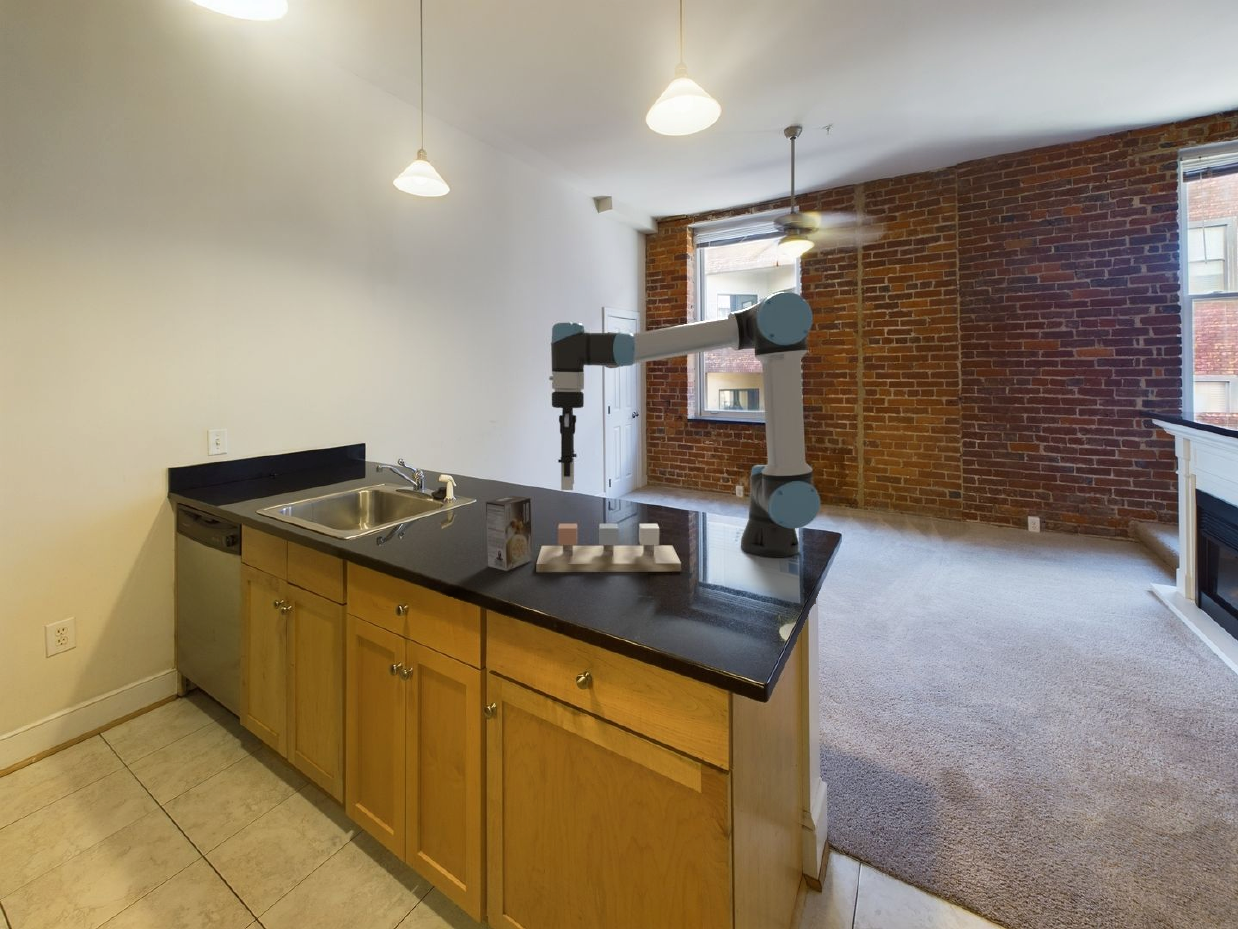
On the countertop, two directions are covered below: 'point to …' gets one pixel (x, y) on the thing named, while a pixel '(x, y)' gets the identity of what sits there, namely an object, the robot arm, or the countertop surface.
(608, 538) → the cap middle
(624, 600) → the countertop surface
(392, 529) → the countertop surface
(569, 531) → the cap
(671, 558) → the mount board
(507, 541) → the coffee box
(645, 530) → the cap
